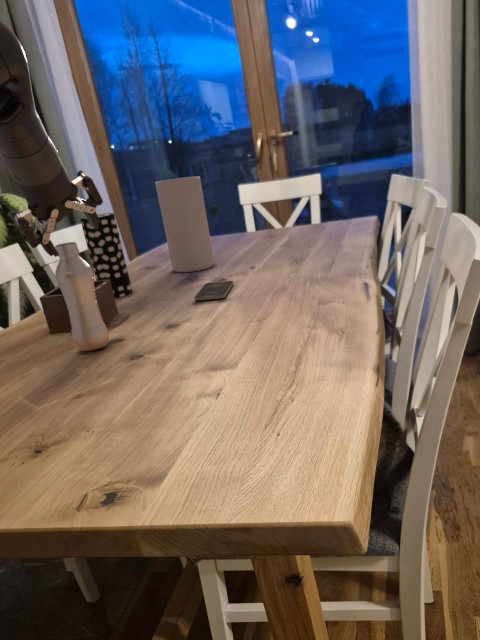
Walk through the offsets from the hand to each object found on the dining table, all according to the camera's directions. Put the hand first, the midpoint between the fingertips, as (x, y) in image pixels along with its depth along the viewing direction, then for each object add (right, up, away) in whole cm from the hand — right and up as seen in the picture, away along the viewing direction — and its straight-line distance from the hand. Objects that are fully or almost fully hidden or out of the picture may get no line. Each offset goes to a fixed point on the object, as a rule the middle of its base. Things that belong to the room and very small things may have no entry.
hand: (74, 239), depth 101 cm
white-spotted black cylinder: (-9, 0, +52) cm, 52 cm away
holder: (-9, -11, +29) cm, 32 cm away
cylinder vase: (+8, +11, +72) cm, 73 cm away
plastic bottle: (0, -18, +11) cm, 21 cm away
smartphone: (+19, -2, +41) cm, 45 cm away
